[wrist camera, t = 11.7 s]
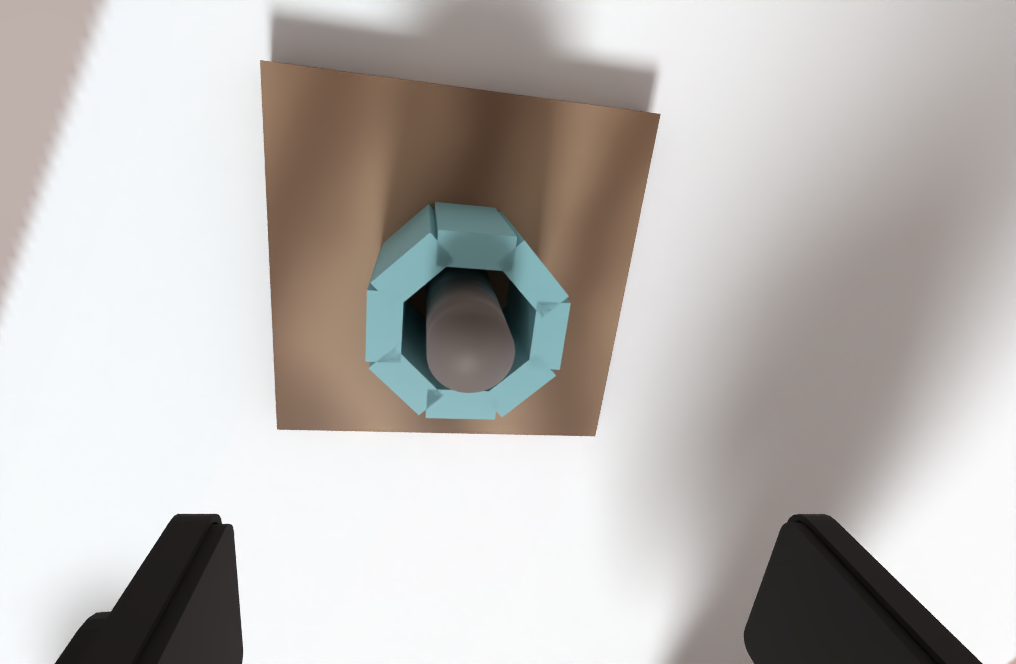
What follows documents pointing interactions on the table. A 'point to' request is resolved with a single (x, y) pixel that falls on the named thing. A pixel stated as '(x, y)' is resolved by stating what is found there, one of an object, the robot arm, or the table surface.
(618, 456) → the table surface
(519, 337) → the ring
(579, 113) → the post stand
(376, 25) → the table surface
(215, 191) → the table surface
